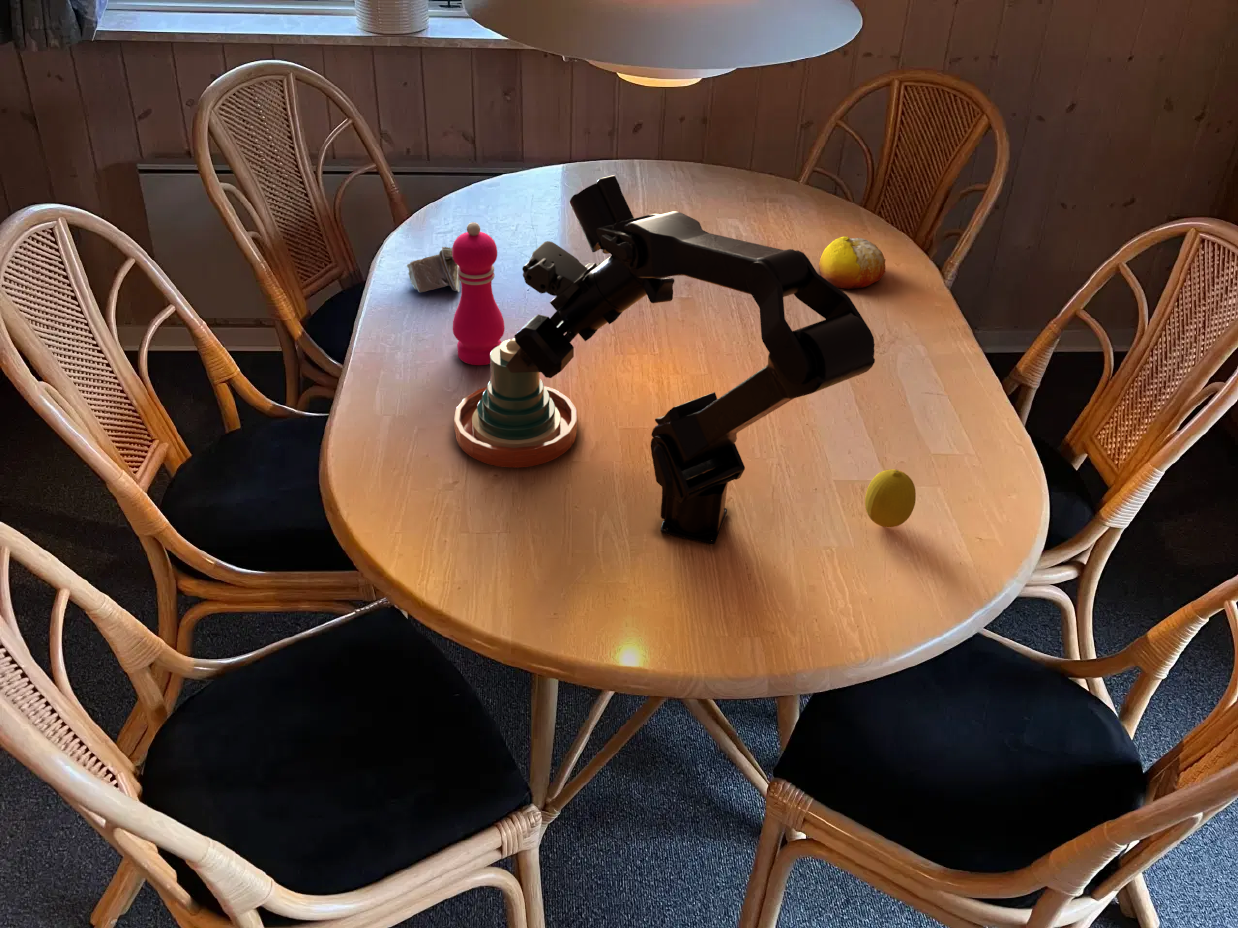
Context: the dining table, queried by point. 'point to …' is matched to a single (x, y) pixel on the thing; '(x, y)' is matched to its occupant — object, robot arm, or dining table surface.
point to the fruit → (852, 263)
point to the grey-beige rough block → (434, 272)
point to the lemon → (890, 498)
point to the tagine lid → (514, 405)
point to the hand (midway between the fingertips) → (526, 350)
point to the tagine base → (521, 454)
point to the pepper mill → (476, 297)
